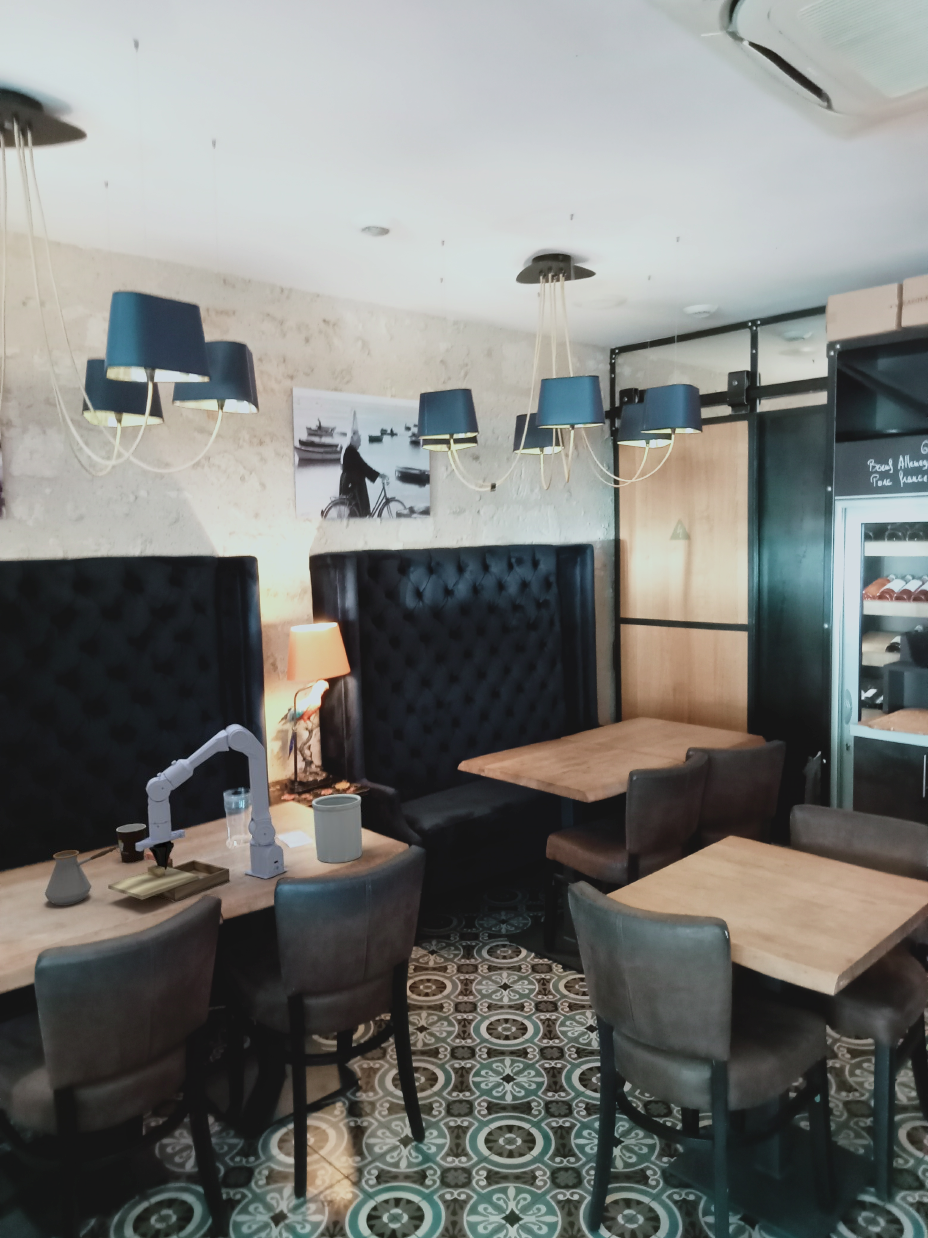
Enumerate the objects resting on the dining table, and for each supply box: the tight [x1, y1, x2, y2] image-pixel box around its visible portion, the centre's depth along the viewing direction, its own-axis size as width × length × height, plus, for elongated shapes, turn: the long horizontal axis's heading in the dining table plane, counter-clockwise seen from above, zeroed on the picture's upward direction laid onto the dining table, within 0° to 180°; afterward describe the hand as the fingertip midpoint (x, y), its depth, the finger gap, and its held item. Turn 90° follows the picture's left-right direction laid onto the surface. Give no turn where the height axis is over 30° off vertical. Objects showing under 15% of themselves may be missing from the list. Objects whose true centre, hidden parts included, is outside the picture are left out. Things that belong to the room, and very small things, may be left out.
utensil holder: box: [311, 793, 363, 864], centre depth 265 cm, size 15×15×18 cm
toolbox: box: [155, 857, 230, 902], centre depth 244 cm, size 18×18×6 cm
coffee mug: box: [116, 823, 147, 864], centre depth 270 cm, size 12×9×10 cm
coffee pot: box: [44, 845, 122, 906], centre depth 235 cm, size 21×12×15 cm, turn 84°
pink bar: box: [144, 851, 171, 863], centre depth 251 cm, size 9×2×2 cm, turn 54°
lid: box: [107, 864, 198, 900], centre depth 236 cm, size 15×17×3 cm
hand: (162, 869), depth 241 cm, fingers closed
